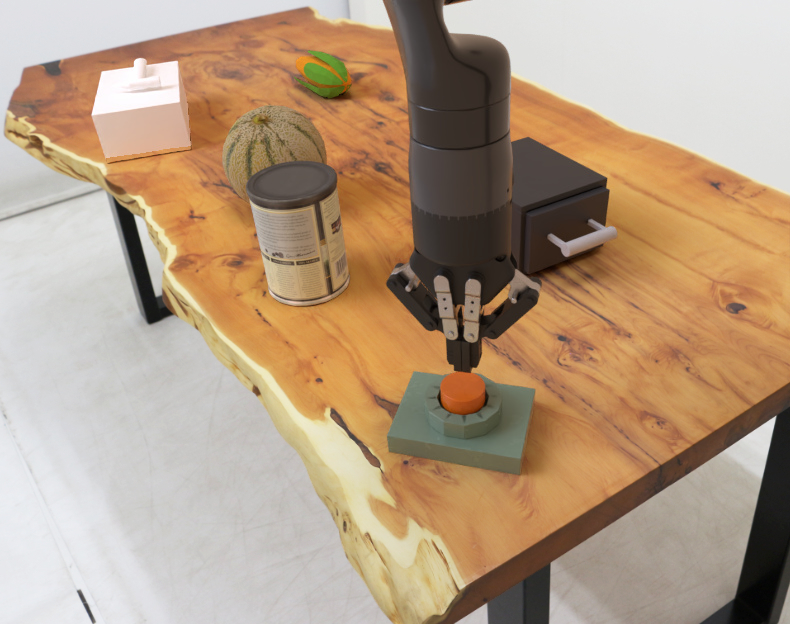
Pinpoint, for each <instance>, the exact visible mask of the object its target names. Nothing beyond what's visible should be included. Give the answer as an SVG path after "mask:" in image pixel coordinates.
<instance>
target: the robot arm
mask: <svg viewBox="0 0 790 624" xmlns="http://www.w3.org/2000/svg"><path fill="white" fill-rule="evenodd" d="M470 1H472V0H382V3H383V5H384V9H385V11H386V15H387V16H388V20H389V23H390V25H391V28H392V32H393V35H394V36H393V37H394V39H395V42H396V46H397V49H398V53H399V56H400V61H401V64H402V68H403V73H404V74H403V75H404V80H405V88H406V102H407V103H406V104H407V105H406V106H407V117H408V118H407V120H408V131H409V133H408V134H409V142H408V143H409V144H408V155H407V156H408V157H407V158H408V159H407V169H408V183H409V184H408V185H409V198H410V211H411V213H410V214H411V226H412V227H411V228H412V241H413V251H412V253H411V254H410V257H409V260H408V262H406V263H403V262H398V263H396V264H395V265H394V267H393V269H392V271H391V272H390V274H389V276H388V278H387V280H386V282H385V285H386V288H387V289H388V290H389V291H390V292H391V293H392V294H393V295H394V296H395V298H396V299H397V300H398V301H399V302H400V304H402V305H403V306H404V307H405V309H407V311H408V312H409V313H410V314H411V315H412V316H413V317H414V318H415V320H417V322H418V323H419V324H420V325H421V326H422V327H423V328H424V329H425V330H426V331H427V332H434V331H438V332H440V333H442V334H443V335H444V337H445V348H446V349H445V350H446V361H447V363H448V365H450V366H453V371H454V372H465V373H471V372H472V371H473V369H477V368H478V366H479V365H480V361H481V359H482V357H483V338H487V339H489V340H497V339H498V338H500V337H501V336H502V335H503V334H504V333H505V332H507V331H508V330H509V329H510V328H511V327H512V326H514V325H515V324H516V323H517V322H518V321H519V320H520V319H521V318H523V317H524V316H525V315H526V314H527V313H529V311H531V310H532V309H533V308H535V307H536V305H537V304H538V302H539V298H540V295H541V291H542V287H543V282H542V279H540V277H537V276H530V277H528V276H527V275H524V274H522V273H521V272H520V271H518V270H517V260H516V258H515V256H514V255H513V253H512V249H511V227H512V187H513V185H514V171H513V154H512V146H511V142H512V141H511V140H512V139H511V98H512V97H511V93H512V65H511V57H510V53H509V51H508V49H507V47H506V46H505V44H503V43H502V42H501V41H500V40H498V39H496V38H494V37H491V36H487V35H481V34H474V33H456V32H455V33H454V32H450V31H449V29H448V26H447V25H446V21H445V17H444V6H450V5H456V4H460V3H466V2H470ZM508 285H509V289H508V293H507V297H506V298H505V300H504V301H502V302H501V303H500V304H499V305H498V306H497V307H496V308H495V309H494V310H493V311H491V313H489V314H485V312H486V305H489V304H490V303H491V302H492V301H493V300H494V299H495V298H496V297H497V296H498V295H499V294H500V293H501V292H502V291H503V290H504V289H505V288H506V287H507V286H508Z"/></svg>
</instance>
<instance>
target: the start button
mask: <svg viewBox="0 0 790 624" xmlns="http://www.w3.org/2000/svg"><path fill="white" fill-rule="evenodd" d="M474 373H475V372H472V371H471V373H465V372H458V371H454V372H451V374H450V373H448V374H449V375H447V376H446V377H445V378H444V379H443V380H442V382H441V385H440V390H441V403H442V405H443V407H444V408H445V409H446V410H447V411H449V412H450V413H453V414H458V415H469V414H473V413H476V412H478V411H479V410H480V409H481V408H482V407H483V406H484V403H485V383H484V381H483V379H482V378H481V377H480V376H478V375H477V374H474Z"/></svg>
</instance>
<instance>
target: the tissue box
mask: <svg viewBox="0 0 790 624" xmlns="http://www.w3.org/2000/svg"><path fill="white" fill-rule="evenodd" d="M96 90H97V91H96V94H95V98H94V104H93V107H92V111H91V114H90V115H91V119H92V122H93V126H94V129H95V131H96V134H97V137H98V140H99V143H100V146H101V149H102V152H103V155H104V158H105V159H106V158H110V157H117V156H124V155H132V154H140V153H146V152H152V151H159V150H163V149H170V148H179V147H188V146H191V145H192V140H191V141H190V133H191V127H190V128H189V120H190V114H189V115H188V108H189V102H188V103H187V101H188V98H187V93H186V89H185V85H184V81H183V77H182V73H181V69H180V64H179V61H178V60H174V61H166V62H165V61H164V62H159V63H152V64H148V60H147V59H145V58H143V57H137V58H136V59H134V61H133V66H132V67H123V68H117V69H109V70H103V71H101V72H100V78H99V82H98V86H97V89H96Z"/></svg>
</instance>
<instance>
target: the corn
mask: <svg viewBox="0 0 790 624" xmlns="http://www.w3.org/2000/svg"><path fill="white" fill-rule="evenodd" d="M307 53H308V54H311V55H300V56H299V57H298V58H297V59H296V60H295V68H296V69H297V71H298V73H299V74H300V75H301V76H302V77H303V78H304V79H305V80H306V81H307V82H306V81H303V80H301V79H299V78H298V77H296V76H293V78H294V80H296V81H297V83H299V84H300V85H302V86H304V87H305V88H306V89H309V90H310V91H312V92H313V93H315V94H317V95H318V96H320V97H323V98H326V97H328V98H327V99H332V98H335V97H338V96H344V95H345V94H346V93H348V92H349V90H350V89H351V88H352V82H353V81H352V77H351V75H350V72H349V70H348V68H347V67H346V64H345V63H344V62H343V61H341V60H339V58H336V57H335V56H333V55H331V54H330V53H326V52H323V51H319V50H311V49H309V50H308V51H307ZM339 94H341V95H339Z"/></svg>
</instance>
